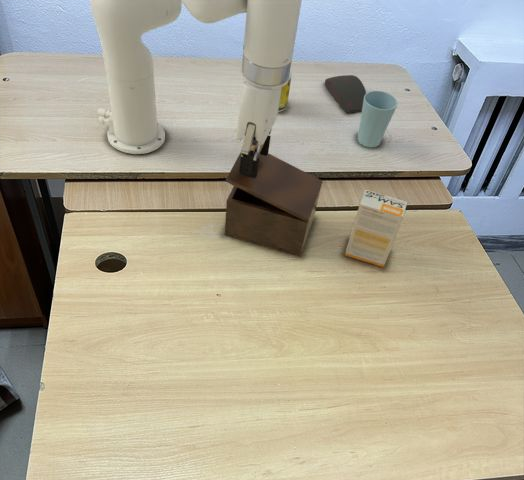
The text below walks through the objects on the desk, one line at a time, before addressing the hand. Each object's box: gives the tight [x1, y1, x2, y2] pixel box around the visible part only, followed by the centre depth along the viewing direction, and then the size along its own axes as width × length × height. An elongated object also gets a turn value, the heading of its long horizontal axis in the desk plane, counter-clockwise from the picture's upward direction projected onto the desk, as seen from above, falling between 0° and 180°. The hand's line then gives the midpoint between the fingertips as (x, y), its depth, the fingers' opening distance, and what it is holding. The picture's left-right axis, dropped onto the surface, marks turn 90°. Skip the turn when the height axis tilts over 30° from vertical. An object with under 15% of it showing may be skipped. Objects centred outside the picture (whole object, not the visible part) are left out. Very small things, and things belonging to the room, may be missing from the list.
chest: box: [224, 184, 323, 257], centre depth 105 cm, size 16×12×9 cm
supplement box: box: [344, 189, 408, 268], centre depth 101 cm, size 8×5×13 cm, turn 71°
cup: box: [357, 90, 399, 148], centre depth 124 cm, size 8×8×10 cm
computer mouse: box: [324, 74, 367, 114], centre depth 137 cm, size 8×14×4 cm, turn 23°
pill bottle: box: [278, 70, 292, 113], centre depth 128 cm, size 6×6×12 cm
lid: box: [225, 139, 324, 222], centre depth 97 cm, size 16×12×5 cm
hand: (253, 163), depth 97 cm, fingers closed on lid, 6 cm apart
